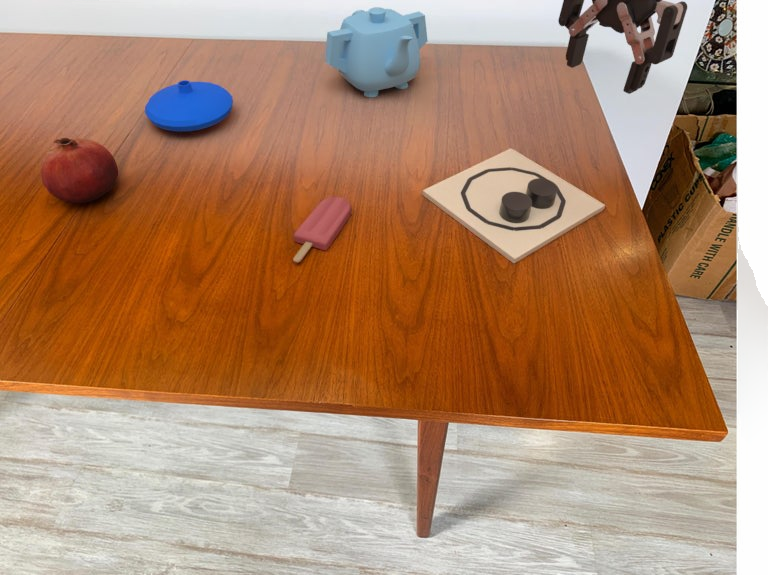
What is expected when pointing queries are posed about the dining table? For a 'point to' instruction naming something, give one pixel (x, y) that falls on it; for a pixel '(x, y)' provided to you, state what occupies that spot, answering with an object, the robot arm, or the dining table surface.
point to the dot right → (542, 193)
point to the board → (483, 199)
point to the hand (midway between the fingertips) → (601, 77)
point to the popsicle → (322, 225)
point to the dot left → (515, 207)
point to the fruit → (78, 170)
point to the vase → (189, 106)
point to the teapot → (377, 49)
